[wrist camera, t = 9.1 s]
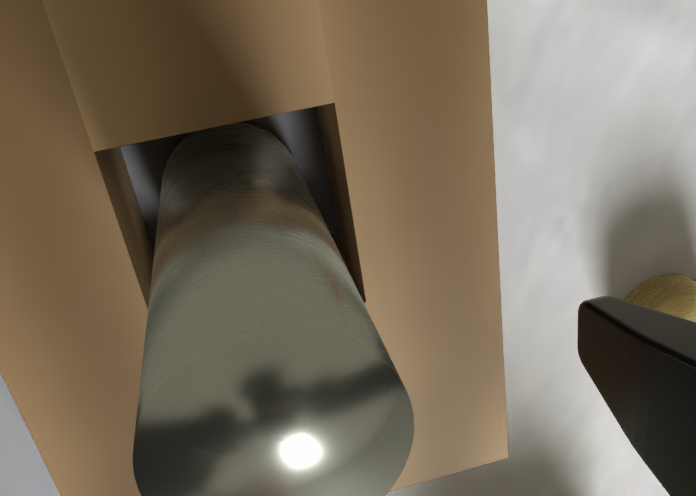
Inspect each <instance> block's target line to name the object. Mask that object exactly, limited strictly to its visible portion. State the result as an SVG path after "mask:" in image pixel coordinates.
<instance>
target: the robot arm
mask: <svg viewBox="0 0 696 496" xmlns="http://www.w3.org/2000/svg"><path fill="white" fill-rule="evenodd" d="M578 353H579V356H580V359H581V362H582V364H583V365H584V367H585V369H586V370H587V372H588V374H589V375H590V377H591V379H592V380H593V382H594V384H595V385H596V387H597V389H598V390H599V392H600V393H601V395H602V397H603V398H604V400H605V402H606V403H607V405H608V407H609V408H610V410H611V412H612V413H613V415H614V417H615V418H616V420H617V422H618V423H619V425H620V426H621V428H622V430H623V431H624V433H625V435H626V436H627V438H628V439H629V441H630V442H631V444H632V445H633V447H634V448H635V450H636V451H637V453H638V454H639V455H640V457H641V458H642V459H643V461H644V462H645V463H646V465H647V466H648V467H649V469H650V470H651V471H652V473H653V474H654V475H655V476H656V478H657V479H658V480H659V482H660V483H661V484H662V486H663V487H664V488H665V490H666V491H667V492H668V493H669V495H670V496H696V322H693V321H690V320H687V319H683V318H680V317H677V316H674V315H670V314H667V313H664V312H661V311H657V310H654V309H651V308H647V307H644V306H641V305H638V304H634V303H631V302H628V301H625V300H621V299H618V298H615V297H612V296H602V297H598V298H594V299H590V300H586V301H584V302H582V303H581V304H580V306H579V310H578Z"/></svg>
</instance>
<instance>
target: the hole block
mask: <svg viewBox="0 0 696 496" xmlns="http://www.w3.org/2000/svg"><path fill="white" fill-rule="evenodd" d="M311 107H316V108H317V114H318V120H319V126H320V131H321V137H322V143H323V149H324V155H325V161H326V166H327V172H328V178H329V184H330V190H331V195H332V201H333V207H334V213H335V219H336V224H337V230H338V236H339V242H340V248H341V251H339V253H340V255H341V257H342V259H343V261H344V263H345V265H346V267H347V269H348V271H349V273H350V275H351V277H352V279H353V281H354V284H355V286H356V288H357V290H358V292H359V294H360V296H361V298H362V300H363V302H364V304H365V306H366V308H367V310H368V312H369V314H370V316H371V318H372V321H373V323H374V325H375V327H376V329H377V331H378V333H379V335H380V337H381V339H382V341H383V343H384V345H385V347H386V349H387V351H388V353H389V355H390V357H391V360H392V362H393V364H394V366H395V368H396V370H397V372H398V374H399V376H400V378H401V380H402V382H403V384H404V386H405V388H406V391H407V393H408V396H409V398H410V401H411V405H412V409H413V414H414V436H413V443H412V447H411V451H410V455H409V457H408V460H407V462H406V465H405V467H404V469H403V471H402V473H401V474H400V476H399V478H398V480H397V481H396V483H395V484H394V485H393V487H392V488H391V489H390V491H389V492H391V491H394V490H398V489H401V488H405V487H408V486H412V485H415V484H419V483H422V482H426V481H429V480H433V479H436V478H440V477H443V476H447V475H450V474H454V473H457V472H460V471H464V470H467V469H471V468H474V467H478V466H481V465H485V464H488V463H492V462H495V461H499V460H502V459H506V458H508V443H507V422H506V400H505V379H504V357H503V336H502V315H501V293H500V272H499V251H498V229H497V208H496V187H495V165H494V144H493V122H492V101H491V80H490V58H489V37H488V16H487V0H0V373H1V375H2V377H3V379H4V381H5V383H6V385H7V387H8V389H9V391H10V393H11V395H12V397H13V399H14V401H15V403H16V405H17V407H18V409H19V411H20V413H21V416H22V418H23V420H24V422H25V424H26V426H27V428H28V430H29V432H30V434H31V436H32V438H33V440H34V442H35V444H36V446H37V448H38V450H39V452H40V454H41V456H42V458H43V460H44V462H45V464H46V466H47V469H48V471H49V473H50V475H51V477H52V479H53V481H54V483H55V485H56V487H57V489H58V491H59V493H60V495H61V496H141V494H140V492H139V490H138V487H137V483H136V480H135V477H134V470H133V462H132V461H133V444H134V435H135V426H136V417H137V407H138V398H139V389H140V380H141V370H142V361H143V352H144V343H145V333H146V324H147V315H148V305H149V296H150V287H151V278H152V268H153V259H154V252H153V249H152V246H151V243H150V239H149V236H148V233H147V230H146V227H145V224H144V221H143V218H142V215H141V211H140V208H139V205H138V202H137V199H136V196H135V193H134V190H133V187H132V183H131V180H130V177H129V174H128V171H127V168H126V165H125V162H124V159H123V155H122V152H121V149H120V146H125V145H130V144H135V143H140V142H144V141H149V140H154V139H159V138H164V137H169V136H174V135H179V134H184V133H188V132H193V131H198V130H203V129H208V128H213V127H218V126H223V125H228V124H233V123H237V122H242V121H247V120H252V119H257V118H262V117H267V116H272V115H277V114H281V113H286V112H291V111H296V110H301V109H306V108H311Z"/></svg>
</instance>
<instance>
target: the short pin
mask: <svg viewBox="0 0 696 496" xmlns="http://www.w3.org/2000/svg"><path fill="white" fill-rule="evenodd" d="M625 301H628V302H631V303H634V304H638V305H641V306H644V307H647V308H651V309H654V310H657V311H661V312H664V313H667V314H670V315H674V316H677V317H680V318H683V319H687V320H690V321H693V322H696V281H694V280H692V279H691V278H689V277H687V276H684V275H679V274H669V275H663V276H659V277H656V278H653V279H651V280H649V281H647V282H645V283H644V284H642V285H640V286H639V287H638V288H636V289H635V290H634V291H633V292H631V293H630V294H629V295H628V296H627V298H626V299H625Z"/></svg>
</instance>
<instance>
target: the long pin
mask: <svg viewBox="0 0 696 496" xmlns="http://www.w3.org/2000/svg"><path fill="white" fill-rule="evenodd" d="M413 436H414V414H413V409H412V405H411V401H410V398H409V396H408V393H407V391H406V388H405V386H404V384H403V382H402V380H401V378H400V376H399V374H398V372H397V370H396V368H395V366H394V364H393V362H392V360H391V357H390V355H389V353H388V351H387V349H386V347H385V345H384V343H383V341H382V339H381V337H380V335H379V333H378V331H377V329H376V327H375V325H374V323H373V321H372V318H371V316H370V314H369V312H368V310H367V308H366V306H365V304H364V302H363V300H362V298H361V296H360V294H359V292H358V290H357V288H356V286H355V284H354V281H353V279H352V277H351V275H350V273H349V271H348V269H347V267H346V265H345V263H344V261H343V259H342V257H341V255H340V253H339V251H338V249H337V247H336V244H335V242H334V240H333V238H332V236H331V234H330V232H329V230H328V228H327V226H326V224H325V222H324V220H323V218H322V216H321V214H320V212H319V210H318V207H317V205H316V203H315V201H314V199H313V197H312V195H311V193H310V191H309V189H308V187H307V185H306V183H305V181H304V179H303V177H302V175H301V173H300V170H299V168H298V166H297V164H296V162H295V160H294V158H293V156H292V155H291V153H290V151H289V150H288V149H287V147H286V146H285V145H284V144H283V143H282V142H281V141H280V140H279V139H278V138H277V137H276V136H274V135H273V134H271V133H270V132H268V131H266V130H265V129H263V128H261V127H258V126H255V125H253V124H249V123H245V122H237V123H233V124H228V125H223V126H218V127H213V128H208V129H203V130H198V131H194V132H192V133H191V134H189V135H188V136H187V137H185V138H184V139H183V140H182V141H181V142H180V143H179V144H178V145H177V146H176V147H175V149H174V150H173V152H172V153H171V155H170V157H169V158H168V160H167V163H166V165H165V168H164V172H163V177H162V185H161V194H160V204H159V213H158V222H157V231H156V241H155V250H154V259H153V268H152V278H151V287H150V296H149V305H148V315H147V324H146V333H145V343H144V352H143V361H142V370H141V380H140V389H139V398H138V407H137V417H136V426H135V435H134V444H133V461H132V462H133V470H134V477H135V480H136V483H137V487H138V490H139V492H140V494H141V496H386V495H387V493H388V492H389V491H390V489H391V488H392V487H393V485H394V484H395V483H396V481H397V480H398V478H399V476H400V474H401V473H402V471H403V469H404V467H405V465H406V462H407V460H408V457H409V455H410V451H411V447H412V443H413Z"/></svg>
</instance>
